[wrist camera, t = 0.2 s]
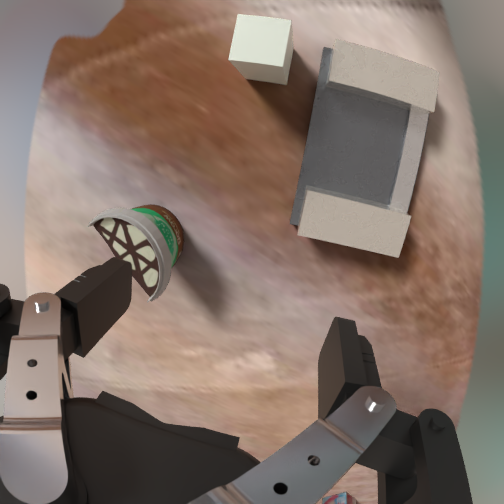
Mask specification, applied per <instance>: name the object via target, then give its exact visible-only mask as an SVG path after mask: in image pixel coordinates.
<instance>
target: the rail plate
mask: <svg viewBox="0 0 504 504" xmlns="http://www.w3.org/2000/svg"><path fill="white" fill-rule="evenodd" d="M439 74H440V72H438V71H436V70H434V69H431V68H429V67H426V66H423V65H421V64H418V63H415V62H413V61H410V60H407V59H404V58H401V57H398V56H395V55H392V54H389V53H386V52H383V51H379V50H376V49H373V48H369V47H366V46H362V45H358V44H354V43H350V42H346V41H342V40H338V39H336V40H335V43H334V45H333V48H332V49H331V48H326V47H324V48H323V53H322V59H321V64H320V70H319V76H318V81H317V87H316V92H315V98H314V103H313V109H312V114H311V119H310V125H309V130H308V135H307V140H306V145H305V150H304V156H303V161H302V166H301V171H300V175H299V180H298V185H297V190H296V195H295V200H294V205H293V209H292V214H291V219H290V224H293V225H298V235H300V236H305V237H309V238H314V239H318V240H323V241H327V242H332V243H336V244H341V245H345V246H350V247H354V248H359V249H363V250H367V251H372V252H376V253H380V254H384V255H389V256H393V257H397V258H399V255H400V252H401V249H402V246H403V243H404V239H405V236H406V233H407V229H408V226H409V223H410V219H411V216H410V215H409V214H408V213H407V212H408V209H409V205H410V201H411V197H412V193H413V189H414V185H415V181H416V177H417V173H418V168H419V164H420V159H421V155H422V150H423V145H424V140H425V134H426V129H427V123H428V118H429V113H434V111H435V104H436V97H437V90H438V82H439Z"/></svg>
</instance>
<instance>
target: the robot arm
mask: <svg viewBox="0 0 504 504" xmlns="http://www.w3.org/2000/svg"><path fill="white" fill-rule="evenodd" d="M131 292H132V264H131V262H129V261H125V260H122V259H119V258H115V257H113V258H111V259H110V260H108V261H107V262H105V263H104V264H103V265H99V266H96V267H93V268H90V269H88V270H86V271H85V272H83V273H82V274H81V276H78V277H77V278H75V279H74V281H71V282H70V283H68V284H67V285H66V286H64V287H63V288H62V289H60V290H59V291H58V292H56V293H55V294H52V293H46V292H43V293H36V294H33V295H31V296H29V297H28V298H27V299H26V300H25V301H19V300H14V299H11V297H10V292H9V288H8V287H7V286H5V285H3V284H0V380H1V379H2V378H3V377H4V375H5V374H6V373H7V376H6V388H5V401H4V402H5V403H4V416H1V417H0V504H316V503H317V502H318V501H319V500H320V499H321V498H322V497H323V496H324V495H325V494H326V493H327V492H328V491H329V490H330V489H331V488H332V487H333V486H334V485H335V484H336V483H337V482H338V481H339V480H340V479H341V478H342V477H343V476H344V475H345V474H346V473H347V472H348V470H349V469H350V468H351V467H352V466H353V465H354V464H355V463H358V464H360V465H363V466H366V467H368V468H371V469H374V470H377V473H378V504H473V503H472V497H471V493H470V487H469V483H468V478H467V473H466V470H465V465H464V461H463V457H462V453H461V449H460V445H459V442H458V438H457V434H456V431H455V427H454V424H453V422H452V420H451V419H450V418H449V417H448V416H447V415H446V414H445V413H443V412H442V411H439V410H437V409H426V410H424V411H422V412H421V413H420V415H419V416H418V417H415V416H412V415H410V414H407V413H404V412H402V411H399V410H398V409H396V402H395V400H394V398H393V397H392V396H391V395H390V394H389V393H388V392H387V391H385V390H383V389H382V387H381V383H380V378H379V374H378V370H377V365H376V364H375V363H376V361H375V357H374V353H373V349H372V345H371V344H370V343H369V341H368V340H367V339H366V337H365V336H361V335H358V332H357V328H356V323H355V321H353V320H349V319H344V318H340V317H335V318H334V320H333V322H332V324H331V327H330V329H329V332H328V334H327V337H326V339H325V342H324V344H323V346H322V349H321V352H320V356H319V361H318V420H316V421H315V422H314V423H313V424H311V425H310V426H309V427H308V428H306V429H305V430H304V431H303V432H301V433H300V434H299V435H298V436H296V437H295V438H294V439H292V440H291V441H290V442H288V443H287V444H286V445H285V446H283V447H282V448H281V449H279V450H278V451H276V452H275V453H274V454H272V455H271V456H270V457H268V458H267V459H265V460H264V461H262V462H260V461H258V460H257V459H256V458H255V457H253V456H252V455H250V454H249V453H247V452H245V451H244V450H242V449H240V448H238V447H237V446H238V442H239V438H240V437H236V436H232V435H228V434H224V433H220V432H217V431H213V430H209V429H206V428H200V427H190V426H181V425H173V424H166V423H163V422H161V421H159V420H158V419H156V418H154V417H153V416H151V415H150V414H148V413H147V412H145V411H144V410H142V409H140V408H139V407H137V406H136V405H134V404H133V403H130V402H128V401H126V400H123V399H121V398H118V397H116V396H114V395H111V394H109V393H107V392H104V391H102V392H101V394H100V395H99V396H98V398H97V399H94V398H80V397H78V398H74V395H73V386H72V376H71V364H70V358H69V356H70V355H71V354H72V353H75V354H77V355H79V356H81V357H83V358H84V357H85V356H86V355H87V354H88V352H89V351H90V350H91V349H92V348H93V347H94V346H95V345H96V343H97V342H98V341H99V340H100V339H101V338H102V337H103V336H104V335H105V333H106V332H107V331H108V330H109V329H110V328H111V327H112V326H113V325H114V324H115V322H116V321H117V320H118V319H119V318H120V317H121V316H122V315H123V314H124V313H125V312H126V310H127V309H128V307H129V305H130V302H131Z"/></svg>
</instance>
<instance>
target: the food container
mask: <svg viewBox="0 0 504 504" xmlns="http://www.w3.org/2000/svg"><path fill="white" fill-rule="evenodd" d="M92 225H93V226H94V227H95V229H96V230H97V231H98V232H99V233H100V235H101V236H102V237H103V239H104V240H105V241H106V243H107V244H108V246H109V247H110V249H111V251H112V252H113V254H114V255H115V257H116V258H119V259H122V260H125V261H129V262H131V264H132V276H133V277H134V278H135V280H136V281H137V282H138V283H139V284H140V286H141V287H142V288H143V289H144V290H145V292H146V293H147V294H148V295H149V296H150V298H149V300H148V301H147V303H148V302H149V301H153V300H155V299H157V298H158V297H159V296H160V295H161V294H162V293H163V292H164V290H165V289H166V287H167V285H168V283H169V280H170V276H171V269H172V267H173V266H174V264H175V263H176V261H177V260H178V258H179V256H180V254H181V252H182V250H183V244H184V236H183V229H182V227H181V225H180V223H179V221H178V219H177V218H176V217H175V216H174V215H173V213H171V212H170V211H169V210H167V209H166V208H164V207H161V206H158V205H144V206H140V207H136V208H132V209H127V208H111V209H108V210H105V211H103V212H101V213H100V214H98V215H97V216H96V217H95V218H94V219H93V220H92V221H91V222H90V223H89V225H88V226H87V227H89V226H92Z"/></svg>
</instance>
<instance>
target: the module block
mask: <svg viewBox="0 0 504 504" xmlns="http://www.w3.org/2000/svg"><path fill="white" fill-rule="evenodd" d="M293 49H294V47H293V33H292V20H287V19H280V18H272V17H264V16H254V15H242V14H238V17H237V21H236V26H235V31H234V35H233V40H232V45H231V50H230V55H229V61H230V62H231V63H232V64H233V65H234V66H235V68H236V69H237V70H238V71H239V72H240V73H241V74H242V75H243V76H244V77H245V79H250V80H257V81H264V82H271V83H277V84H283V85H287V82H288V76H289V71H290V65H291V60H292V54H293Z"/></svg>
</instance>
